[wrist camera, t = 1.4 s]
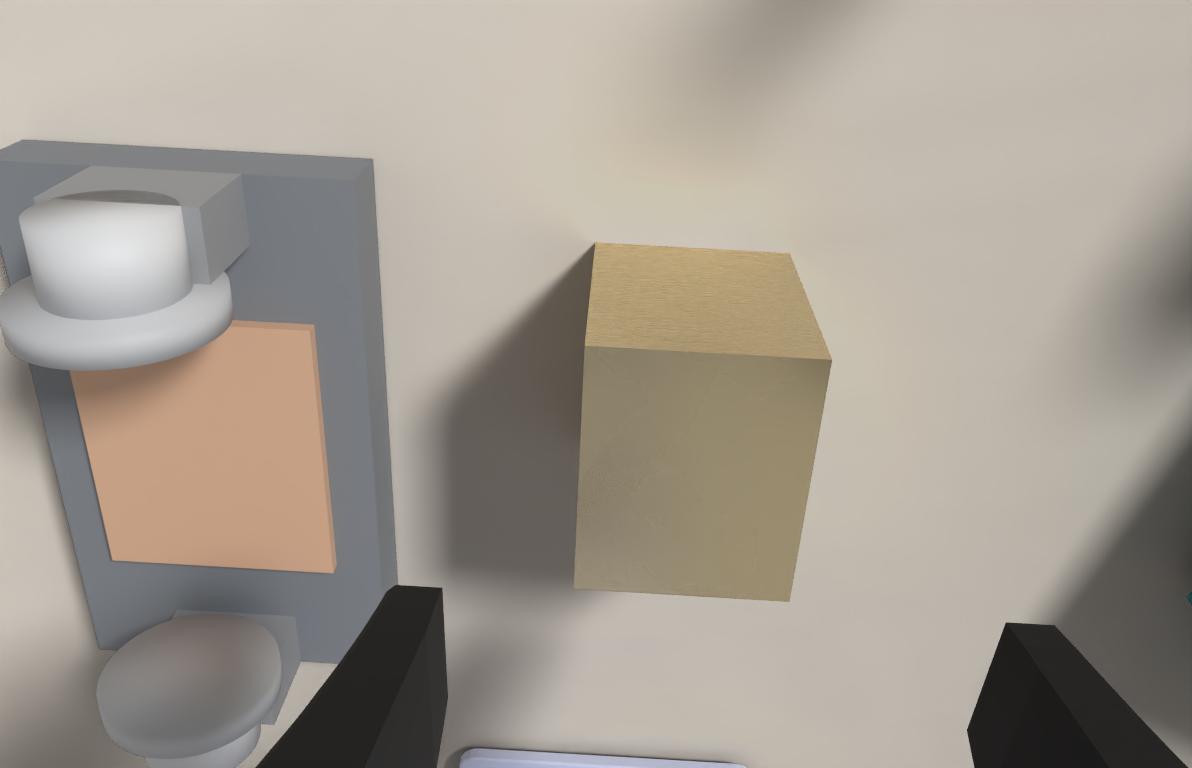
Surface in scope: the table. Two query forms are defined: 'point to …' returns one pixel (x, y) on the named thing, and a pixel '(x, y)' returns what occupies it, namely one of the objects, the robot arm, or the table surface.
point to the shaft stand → (206, 419)
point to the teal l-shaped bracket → (1190, 597)
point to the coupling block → (696, 422)
